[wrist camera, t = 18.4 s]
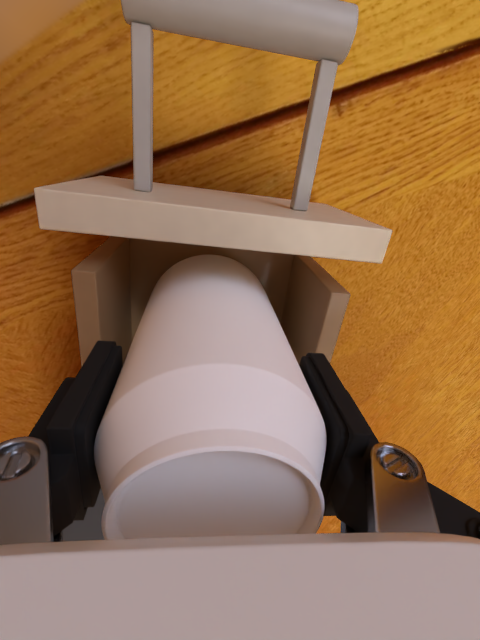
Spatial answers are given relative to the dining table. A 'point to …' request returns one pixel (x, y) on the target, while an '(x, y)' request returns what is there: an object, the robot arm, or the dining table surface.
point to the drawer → (212, 205)
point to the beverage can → (210, 416)
